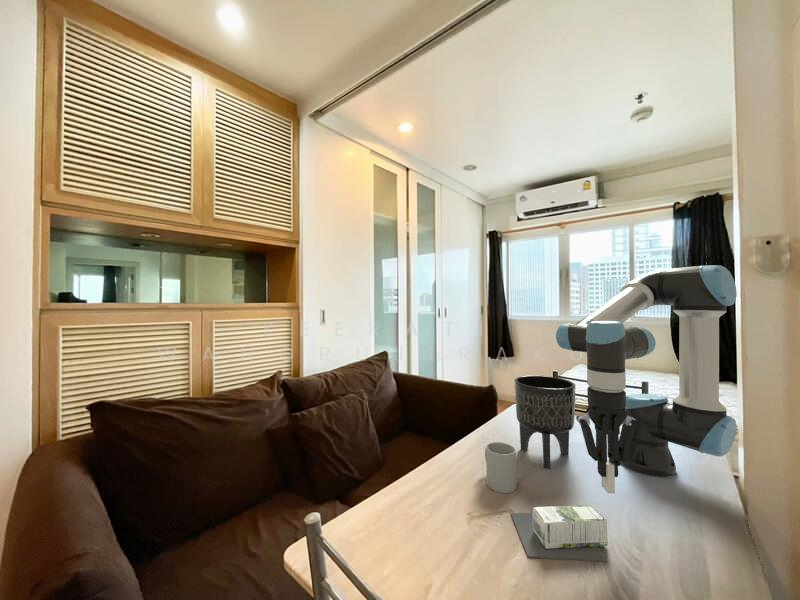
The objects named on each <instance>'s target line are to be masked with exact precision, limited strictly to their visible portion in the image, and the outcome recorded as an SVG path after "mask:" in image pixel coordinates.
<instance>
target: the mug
mask: <svg viewBox="0 0 800 600" xmlns="http://www.w3.org/2000/svg"><path fill="white" fill-rule="evenodd" d="M516 453H517V452H516V449H515V447H514V446H513V445H510V444H509V443H505V442H501V441H498V442H497V441H496V442H489V443H487V445H486V446H485V450H484V457H485V462H486V464H485V465H486V466H485V467H486V474H485V477H486V480H485V481H486V485H487V487H488V488H489V489H490V490H493V492H497V493H500V494H510V493H513V492H514V491H515V490H516V489H517V463H516V462H517V455H516Z"/></svg>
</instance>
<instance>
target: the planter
mask: <svg viewBox="0 0 800 600" xmlns="http://www.w3.org/2000/svg"><path fill="white" fill-rule="evenodd" d="M576 387H577V386H576V384H575V383H574V382H573V381H571V380H568V379H565V378H561V377H556V376H555V377H554V376H549V375H548V376H547V375H522V376H518V377H516V378H515V379H514V394H515V411H516V412H515V414H516V420H517V422H518V423H519V437H520V440H519V442H520V450H522V451H524V452H526V451H527V450H528V449H529V443H530V440H531V439H530V438H532V435H534V434H536V433H538V434H541V439H542V440H541V441H542V461H543V462H542V465H543V469H548V470H551V435H553V436H554V437H555V439H556V440H557V441H558V442H557V443H558V445H559V450H560V455H562V456H563V457H569V454H570V453H569V450H570V431H571V430H573V429H574V425H575V414H576V412H575V410H576V408H575V407H576Z"/></svg>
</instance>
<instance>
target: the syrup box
mask: <svg viewBox="0 0 800 600" xmlns="http://www.w3.org/2000/svg"><path fill="white" fill-rule="evenodd" d="M532 514H533V530H534V532H535V534H536V535H537V537H538V538H539V539H540V541H541V542H542V544H543V545H544V547H545V548H572V547H595V546H597V547H608V545H609V540H608V524H607V522H608V521H607V519H606V518H605V517H604V516H603V515H602V514H601V513H599V511H598V510H596V509H595V508H594V507H593V506H592V505H591V504H586V505H585V504H584V505H583V504H582V505H559V506H557V505H556V506H555V505H553V506H536V507H535V506H534V507H533V509H532Z"/></svg>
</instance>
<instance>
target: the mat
mask: <svg viewBox="0 0 800 600" xmlns="http://www.w3.org/2000/svg"><path fill="white" fill-rule="evenodd" d="M510 516H511V519H512V521H513V524H514V526H515V528H516V531H517V534H518V536H519V539H520V541H521V543H522V546H523V548H524V550H525V553H526V556H527V558H529V559H531V558H532V559H548V560H549V559H551V560H566V561H567V560H570V561H583V562H584V561H586V562H587V561H588V562H604V563H605V562H607V558H606V557H605V556H604V554H603V553H602V552H601V550H600V549H599V546H595V547H572V548H545V547H544V545H543V544H542V542H541V541H540V539H539V538H538V537H537V535H536V534H535V532H534V530H533V513H525V512H524V513H523V512H510Z"/></svg>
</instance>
